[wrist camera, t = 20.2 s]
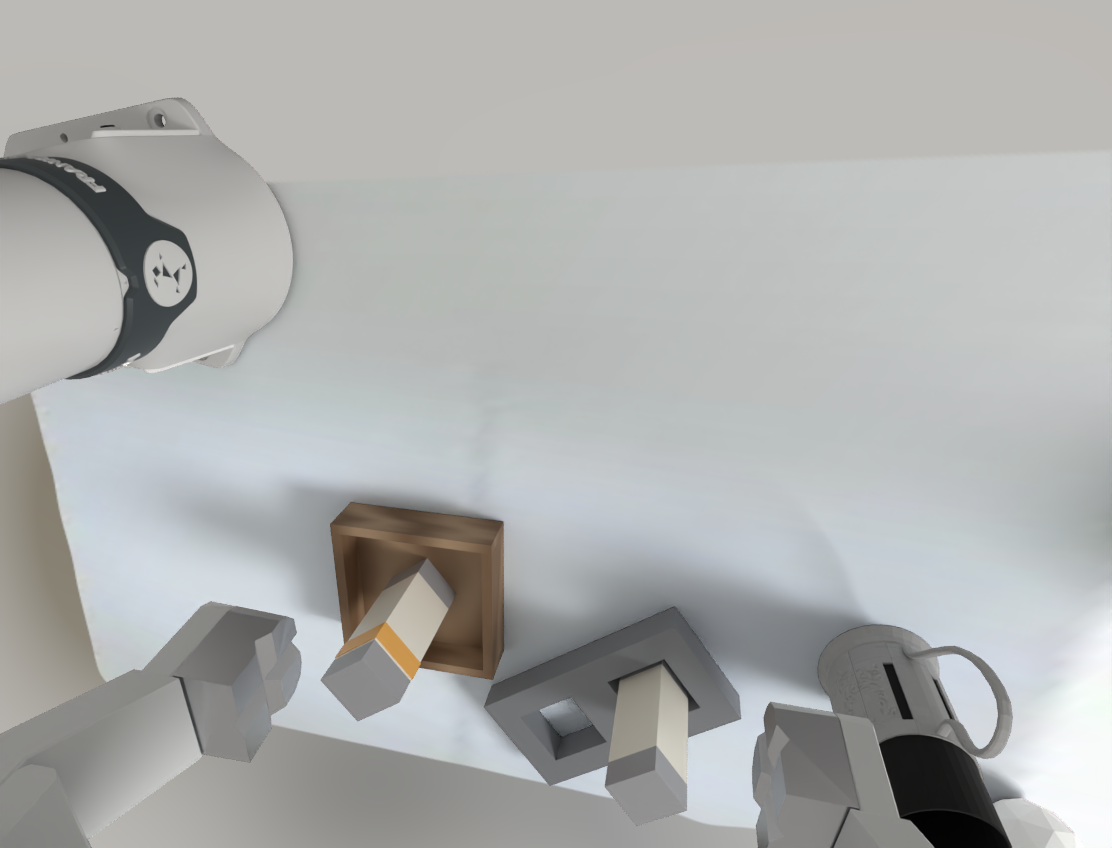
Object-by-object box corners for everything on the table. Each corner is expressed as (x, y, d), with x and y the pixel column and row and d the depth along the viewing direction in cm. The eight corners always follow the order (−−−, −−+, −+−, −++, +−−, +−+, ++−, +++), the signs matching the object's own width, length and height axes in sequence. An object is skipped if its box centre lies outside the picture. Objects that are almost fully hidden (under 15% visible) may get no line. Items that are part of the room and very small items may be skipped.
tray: (363, 628, 61) (345, 655, 58) (350, 502, 56) (330, 524, 53) (503, 650, 59) (492, 679, 56) (503, 521, 54) (491, 545, 51)
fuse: (647, 697, 58) (636, 825, 47) (621, 663, 57) (604, 786, 46) (688, 681, 56) (686, 810, 46) (662, 646, 56) (654, 770, 45)
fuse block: (555, 762, 63) (549, 785, 61) (491, 686, 61) (483, 707, 58) (739, 695, 56) (741, 718, 54) (675, 606, 54) (674, 626, 52)
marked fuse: (421, 612, 58) (357, 722, 47) (391, 576, 57) (319, 679, 46) (457, 594, 56) (400, 703, 45) (427, 557, 55) (361, 658, 44)
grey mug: (800, 693, 55) (835, 875, 41) (874, 552, 49) (943, 711, 35) (908, 727, 54) (980, 925, 40) (996, 589, 48) (1115, 765, 35)
